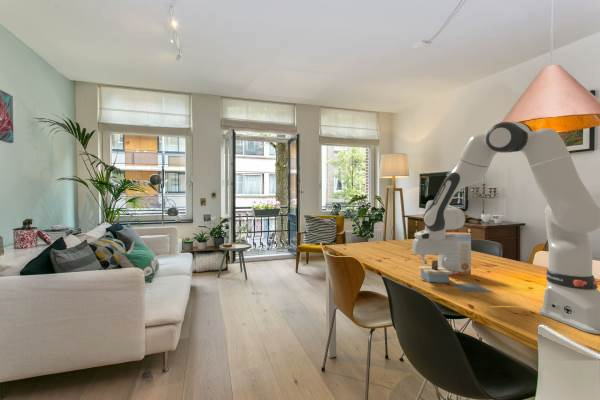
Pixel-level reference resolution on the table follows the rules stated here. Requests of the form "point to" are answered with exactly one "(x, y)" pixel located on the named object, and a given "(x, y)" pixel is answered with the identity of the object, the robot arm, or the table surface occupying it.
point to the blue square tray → (435, 277)
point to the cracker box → (459, 256)
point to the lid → (435, 269)
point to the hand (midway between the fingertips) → (434, 264)
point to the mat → (471, 287)
